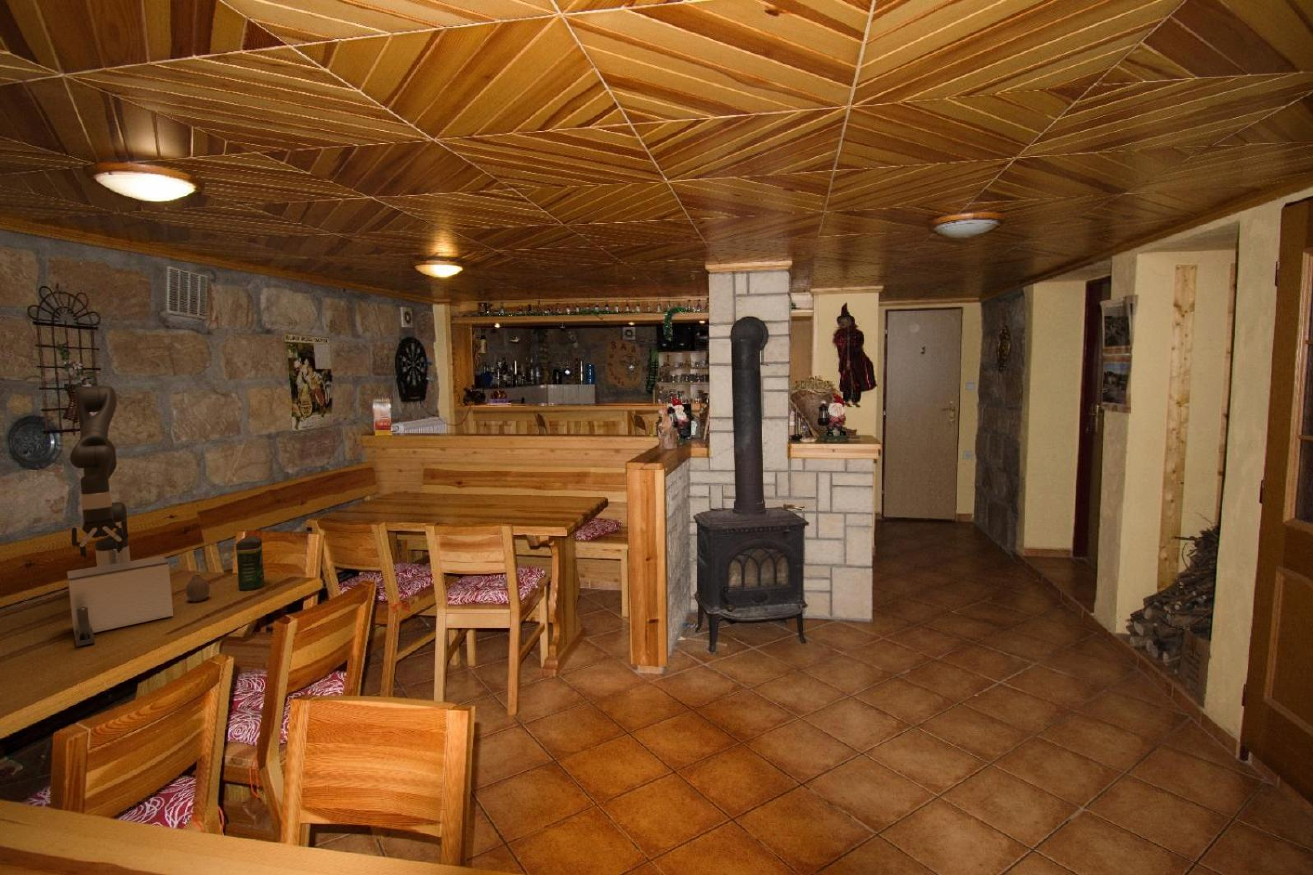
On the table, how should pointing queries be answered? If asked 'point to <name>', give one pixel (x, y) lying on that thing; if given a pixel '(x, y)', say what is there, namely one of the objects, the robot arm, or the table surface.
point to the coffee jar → (250, 563)
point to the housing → (114, 569)
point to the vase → (197, 589)
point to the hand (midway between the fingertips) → (102, 555)
